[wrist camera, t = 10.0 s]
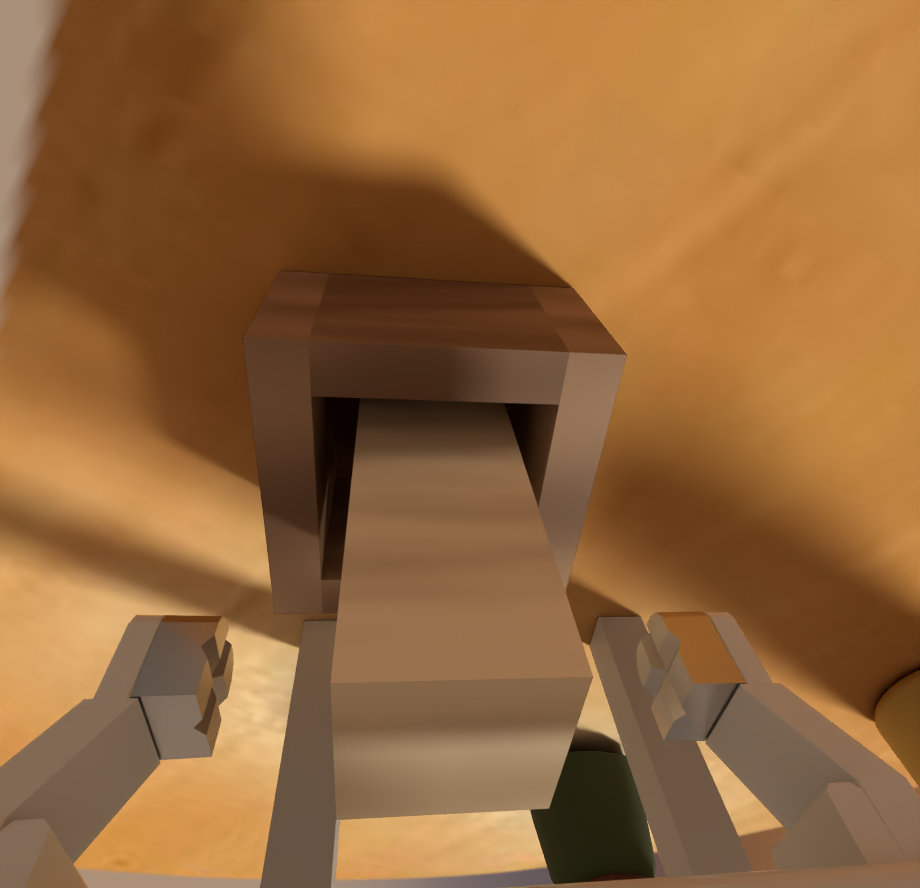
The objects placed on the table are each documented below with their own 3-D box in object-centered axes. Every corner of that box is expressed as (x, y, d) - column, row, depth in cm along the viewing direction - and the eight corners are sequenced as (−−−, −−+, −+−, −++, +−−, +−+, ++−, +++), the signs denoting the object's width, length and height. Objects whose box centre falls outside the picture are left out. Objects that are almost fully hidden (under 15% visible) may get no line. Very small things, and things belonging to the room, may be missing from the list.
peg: (365, 350, 19) (330, 683, 9) (489, 356, 19) (593, 676, 9) (364, 455, 21) (335, 820, 11) (476, 458, 21) (548, 808, 11)
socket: (280, 270, 17) (242, 337, 13) (573, 287, 18) (627, 354, 14) (297, 508, 22) (274, 613, 18) (530, 510, 23) (560, 610, 19)
